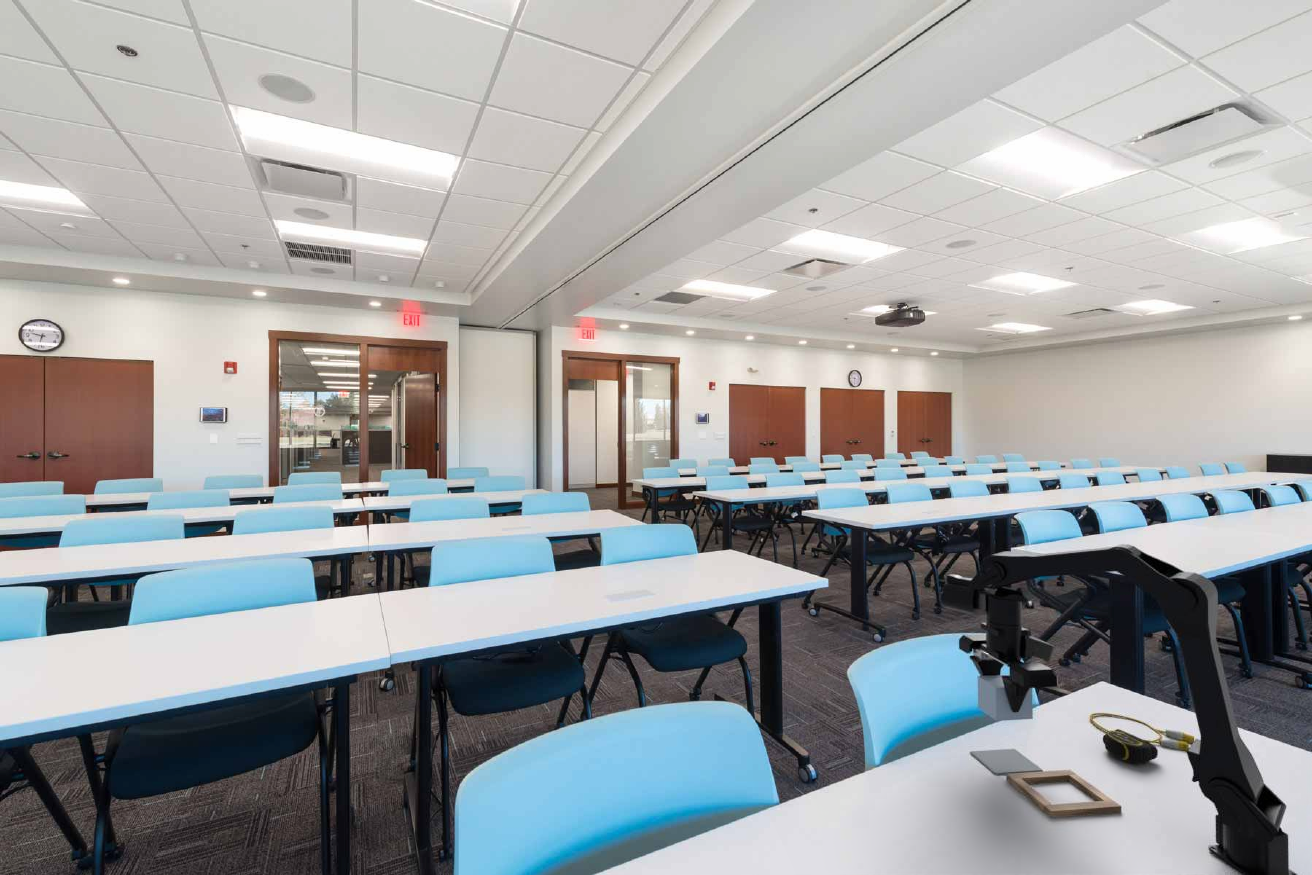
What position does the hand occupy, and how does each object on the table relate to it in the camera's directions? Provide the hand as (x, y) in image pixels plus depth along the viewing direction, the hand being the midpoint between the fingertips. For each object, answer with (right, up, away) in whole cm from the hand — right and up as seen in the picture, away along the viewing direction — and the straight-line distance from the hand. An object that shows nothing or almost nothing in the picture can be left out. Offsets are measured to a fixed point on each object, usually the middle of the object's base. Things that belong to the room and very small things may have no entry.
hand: (1004, 704), depth 104 cm
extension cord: (+33, -11, +10) cm, 36 cm away
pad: (0, -11, 0) cm, 11 cm away
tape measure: (+24, -11, +2) cm, 27 cm away
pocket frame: (+3, -11, -10) cm, 15 cm away
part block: (0, -2, 0) cm, 2 cm away
